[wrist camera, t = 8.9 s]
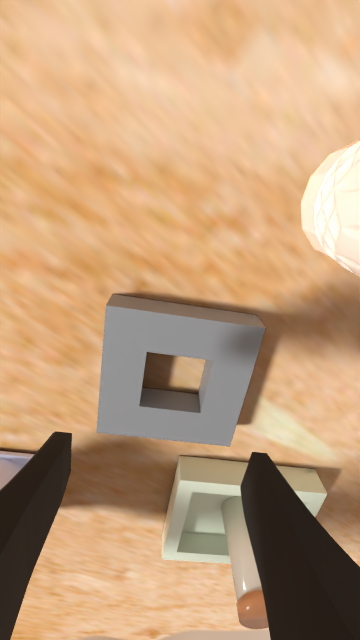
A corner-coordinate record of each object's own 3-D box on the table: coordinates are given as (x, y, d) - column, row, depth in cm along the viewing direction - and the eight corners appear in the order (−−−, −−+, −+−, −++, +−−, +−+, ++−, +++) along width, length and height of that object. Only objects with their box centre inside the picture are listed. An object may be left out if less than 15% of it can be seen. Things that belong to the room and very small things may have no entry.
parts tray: (162, 531, 30) (161, 559, 28) (179, 455, 26) (180, 480, 24) (280, 540, 31) (289, 567, 29) (314, 469, 27) (327, 493, 25)
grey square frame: (102, 412, 24) (96, 432, 22) (112, 293, 20) (105, 305, 18) (224, 425, 25) (229, 446, 23) (256, 314, 21) (265, 328, 19)
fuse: (218, 518, 28) (236, 629, 21) (221, 495, 27) (242, 605, 20) (251, 517, 28) (280, 628, 21) (256, 495, 27) (289, 603, 20)
